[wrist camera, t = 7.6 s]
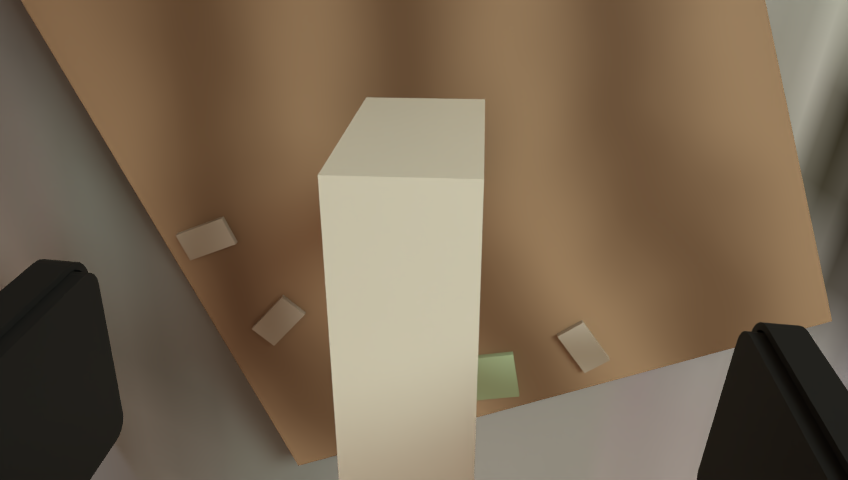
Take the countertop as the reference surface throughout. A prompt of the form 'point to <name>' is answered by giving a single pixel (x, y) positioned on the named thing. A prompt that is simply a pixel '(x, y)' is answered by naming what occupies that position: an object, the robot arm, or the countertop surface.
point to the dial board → (503, 173)
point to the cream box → (405, 286)
